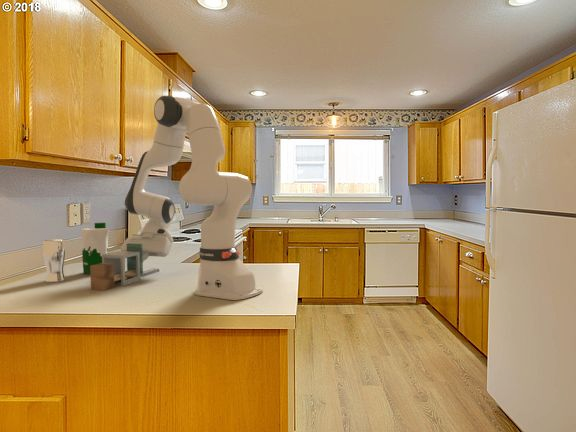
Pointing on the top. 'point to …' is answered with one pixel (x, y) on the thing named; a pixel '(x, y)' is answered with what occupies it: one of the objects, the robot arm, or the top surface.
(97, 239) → the milk carton
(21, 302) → the top surface
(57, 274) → the beer glass
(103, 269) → the walnut block
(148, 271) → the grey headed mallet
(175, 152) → the robot arm
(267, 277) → the top surface
